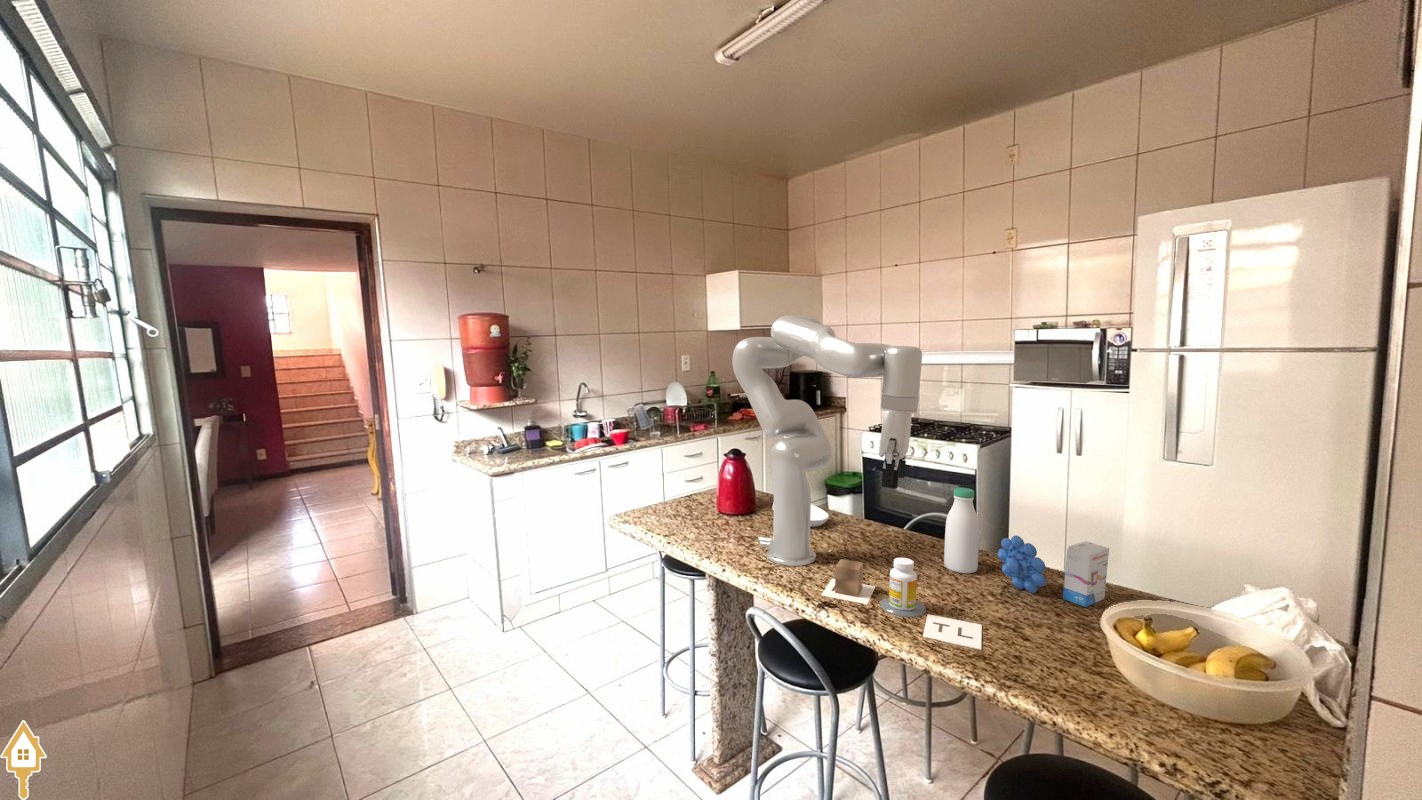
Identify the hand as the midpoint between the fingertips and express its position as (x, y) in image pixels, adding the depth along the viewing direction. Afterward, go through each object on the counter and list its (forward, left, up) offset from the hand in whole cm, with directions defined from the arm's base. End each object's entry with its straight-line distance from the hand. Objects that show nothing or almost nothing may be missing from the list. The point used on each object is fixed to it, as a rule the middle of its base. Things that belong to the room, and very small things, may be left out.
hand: (893, 482), depth 122 cm
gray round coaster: (+3, -5, -26) cm, 26 cm away
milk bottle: (+13, +24, -26) cm, 38 cm away
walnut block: (-9, -2, -25) cm, 27 cm away
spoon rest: (-35, +45, -26) cm, 63 cm away
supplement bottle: (+3, -5, -25) cm, 26 cm away
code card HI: (-9, -2, -26) cm, 27 cm away
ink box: (+38, +17, -26) cm, 49 cm away
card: (+13, -11, -26) cm, 31 cm away
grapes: (+25, +16, -26) cm, 40 cm away
